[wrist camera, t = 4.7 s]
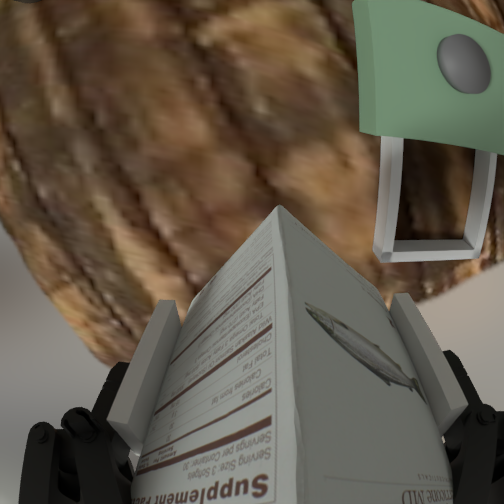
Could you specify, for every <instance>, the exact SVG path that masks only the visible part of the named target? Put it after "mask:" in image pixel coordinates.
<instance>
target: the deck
mask: <svg viewBox="0 0 504 504" xmlns="http://www.w3.org/2000/svg"><path fill="white" fill-rule="evenodd" d="M352 9H353V17H354V26H355V36H356V48H357V62H358V80H359V114H360V132H363V133H368V134H372V135H376V136H381V158H380V178H379V192H378V204H377V215H376V225H375V234H374V242H373V252H374V253H375V255H376V256H377V258H378V259H379V261H380V262H408V261H432V260H454V259H475V258H479V256H480V252H481V248H482V244H483V240H484V235H485V231H486V226H487V222H488V217H489V211H490V206H491V200H492V194H493V187H494V179H495V171H496V161H497V154H501V155H504V34H502V33H500V32H498V31H496V30H494V29H492V28H490V27H488V26H486V25H483V24H481V23H479V22H477V21H475V20H472V19H470V18H468V17H465V16H463V15H460V14H458V13H455V12H453V11H450V10H447V9H444V8H442V7H439V6H436V5H433V4H430V3H426V2H423V1H420V0H354V2H353V3H352ZM403 138H408V139H416V140H424V141H431V142H438V143H444V144H451V145H457V146H462V147H468V148H473V149H476V151H475V163H474V173H473V182H472V189H471V196H470V203H469V209H468V215H467V220H466V225H465V230H464V235H463V240H394V238H395V231H396V224H397V216H398V208H399V198H400V188H401V176H402V161H403Z"/></svg>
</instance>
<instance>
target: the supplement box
mask: <svg viewBox="0 0 504 504" xmlns="http://www.w3.org/2000/svg"><path fill="white" fill-rule="evenodd" d="M131 501H132V504H453V481H452V470H451V466H450V463H449V460H448V457H447V453H446V450H445V447H444V444H443V441H442V438H441V435H440V433H439V430H438V427H437V424H436V421H435V418H434V415H433V413H432V410H431V407H430V405H429V402H428V400H427V397H426V394H425V392H424V389H423V387H422V384H421V382H420V379H419V377H418V374H417V372H416V370H415V367H414V365H413V362H412V360H411V358H410V356H409V353H408V351H407V349H406V347H405V345H404V342H403V340H402V338H401V336H400V334H399V332H398V330H397V327H396V325H395V323H394V321H393V319H392V317H391V315H390V313H389V311H388V309H387V307H386V305H385V303H384V301H383V299H382V297H381V295H380V293H379V291H378V290H377V288H376V287H374V286H373V285H372V284H371V283H369V282H368V281H367V280H366V279H365V278H363V277H362V276H361V275H360V274H358V273H357V272H356V271H355V270H354V269H353V268H351V267H350V266H349V265H348V264H347V263H345V262H344V261H343V260H342V259H341V258H340V257H339V256H338V255H336V254H335V253H334V252H333V251H332V250H331V249H330V248H328V247H327V246H326V245H325V244H324V243H323V242H322V241H321V240H319V239H318V238H317V237H316V236H315V235H314V234H313V233H311V232H310V231H309V230H308V229H307V228H306V227H305V226H304V225H302V224H301V223H300V222H299V221H298V220H297V219H296V218H295V217H294V216H292V215H291V214H290V213H289V212H288V211H287V210H286V209H285V208H284V207H283V206H281V205H278V206H276V207H275V209H274V210H273V211H272V212H271V213H270V215H269V216H268V217H267V218H266V219H265V220H264V221H263V222H262V224H261V225H260V226H259V227H258V228H257V229H256V230H255V231H254V232H253V234H252V235H251V236H250V237H249V238H248V239H247V240H246V241H245V242H244V244H243V245H242V246H241V247H240V248H239V249H238V250H237V251H236V252H235V253H234V255H233V256H232V257H231V258H230V259H229V260H228V261H227V262H226V263H225V265H224V266H223V267H222V268H221V269H220V270H219V271H218V272H217V273H216V275H215V276H214V277H213V278H212V279H211V280H210V281H209V282H208V283H207V285H206V286H205V287H204V288H203V289H202V290H201V291H200V292H199V294H198V295H197V296H196V297H195V298H194V299H193V301H192V303H191V305H190V307H189V310H188V313H187V316H186V318H185V321H184V324H183V326H182V329H181V332H180V334H179V337H178V339H177V342H176V345H175V348H174V351H173V353H172V356H171V359H170V362H169V365H168V368H167V371H166V374H165V377H164V380H163V383H162V386H161V389H160V392H159V395H158V398H157V401H156V405H155V408H154V411H153V414H152V418H151V421H150V424H149V428H148V431H147V434H146V437H145V441H144V444H143V447H142V451H141V454H140V457H139V461H138V464H137V468H136V471H135V475H134V478H133V482H132V485H131Z"/></svg>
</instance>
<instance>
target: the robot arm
mask: <svg viewBox="0 0 504 504" xmlns="http://www.w3.org/2000/svg"><path fill="white" fill-rule="evenodd" d="M14 1H19V2H23V3H34V2H38V1H41V0H14ZM389 313H390V315H391V317H392V319H393V321H394V323H395V325H396V327H397V330H398V332H399V334H400V336H401V338H402V340H403V342H404V345H405V347H406V349H407V351H408V353H409V356H410V358H411V360H412V362H413V365H414V367H415V370H416V372H417V374H418V377H419V379H420V382H421V384H422V387H423V389H424V392H425V394H426V397H427V400H428V402H429V405H430V407H431V410H432V413H433V415H434V418H435V421H436V424H437V427H438V430H439V433H440V435H441V438H442V436H444V439H445V443H444V447H445V450H446V453H447V457H448V460H449V463H450V466H451V470H452V481H453V504H504V411H495V409H494V408H493V407H491V406H490V405H487V404H483V403H482V401H481V400H480V398H479V395H478V394H477V391H476V389H475V387H474V386H473V384H472V382H471V380H470V378H469V376H467V372H466V370H465V369H464V368H463V365H462V363H461V361H460V359H459V357H457V356H456V355H455V354H454V353H453V352H452V351H451V350H447V351H442V350H441V348H440V347H439V345H438V343H437V341H436V339H435V338H434V336H433V334H432V332H431V330H430V329H429V327H428V325H427V324H426V322H425V320H424V318H423V317H422V315H421V313H420V312H419V310H418V308H417V307H416V305H415V303H414V302H413V300H412V299H411V297H410V295H409V294H408V293H398V294H394V296H393V300H392V304H391V308H390V311H389ZM181 329H182V327H181V323H180V319H179V315H178V311H177V307H176V303H175V300H159V302H158V304H157V306H156V308H155V310H154V312H153V314H152V316H151V318H150V321H149V323H148V325H147V327H146V329H145V331H144V333H143V336H142V338H141V340H140V342H139V344H138V347H137V349H136V351H135V353H134V356H133V358H132V360H131V362H130V363H126V362H118V363H117V364H116V365H115V366H114V367H113V368H112V369H111V370H110V372H109V374H108V377H107V379H106V382H105V383H104V385H103V387H102V390H101V392H100V394H99V396H98V398H97V400H96V403H95V405H94V407H93V410H92V412H90V411H89V410H88V409H85V408H83V407H76V408H73V409H70V410H69V411H68V412H66V413H65V414H64V416H63V418H62V420H61V427H62V428H63V429H55V428H54V427H53V426H52V425H50V424H49V423H47V422H39V423H37V424H35V425H34V426H33V427H32V428H31V429H30V432H29V434H28V439H27V445H26V449H25V455H24V462H23V468H22V475H21V483H20V493H19V504H132V501H131V485H132V482H133V478H134V475H135V472H134V469H133V466H132V463H131V460H130V458H129V457H128V455H129V452H130V449H131V450H132V451H133V452H134V454H135V455H139V456H140V454H141V451H142V447H143V444H144V441H145V437H146V434H147V431H148V428H149V424H150V421H151V418H152V414H153V411H154V408H155V405H156V401H157V398H158V395H159V392H160V389H161V386H162V383H163V380H164V377H165V374H166V371H167V368H168V365H169V362H170V359H171V356H172V353H173V351H174V348H175V345H176V342H177V339H178V337H179V334H180V332H181Z"/></svg>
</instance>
